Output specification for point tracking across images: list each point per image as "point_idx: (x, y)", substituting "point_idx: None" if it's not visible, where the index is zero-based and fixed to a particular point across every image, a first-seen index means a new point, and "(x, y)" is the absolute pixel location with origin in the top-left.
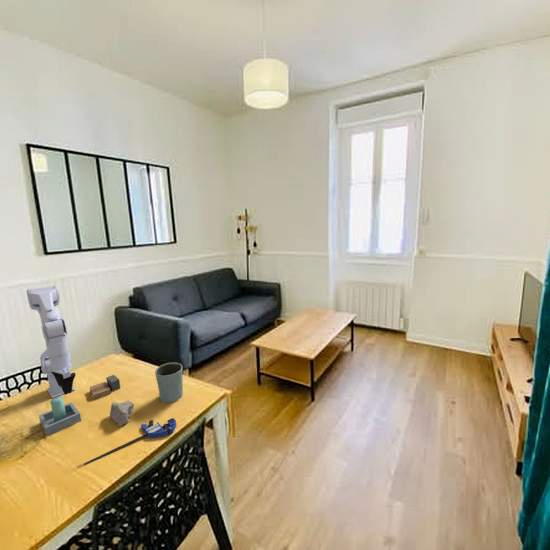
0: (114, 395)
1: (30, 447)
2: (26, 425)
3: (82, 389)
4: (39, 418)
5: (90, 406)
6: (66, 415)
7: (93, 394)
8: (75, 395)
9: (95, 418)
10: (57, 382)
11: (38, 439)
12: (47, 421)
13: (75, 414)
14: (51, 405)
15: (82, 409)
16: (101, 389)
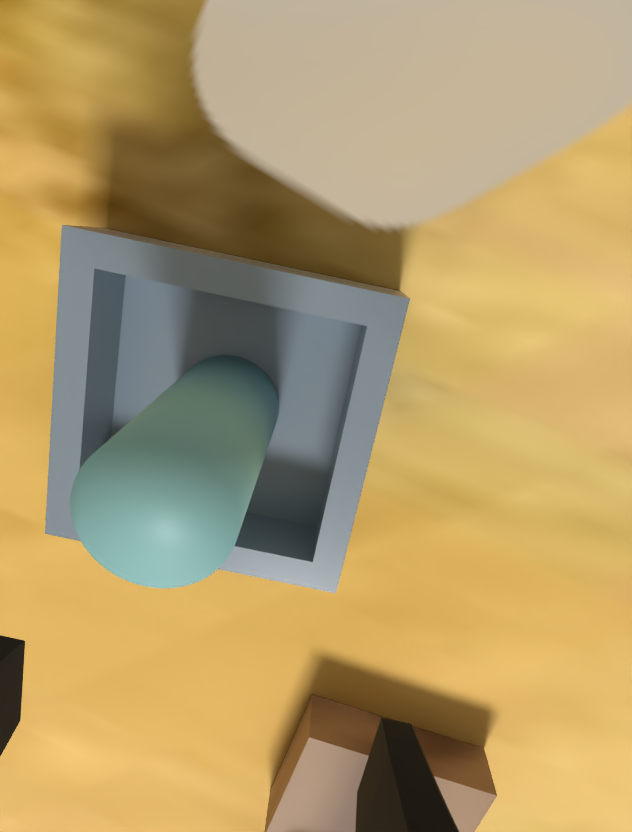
0: (219, 789)
1: (46, 54)
2: (492, 192)
3: (592, 738)
4: (396, 293)
5: (236, 633)
6: (261, 469)
7: (316, 742)
8: (554, 665)
9: (16, 564)
10: (398, 798)
11: (118, 158)
12: (330, 332)
13: (62, 503)
14: (166, 417)
15: (253, 582)
16: (334, 810)
